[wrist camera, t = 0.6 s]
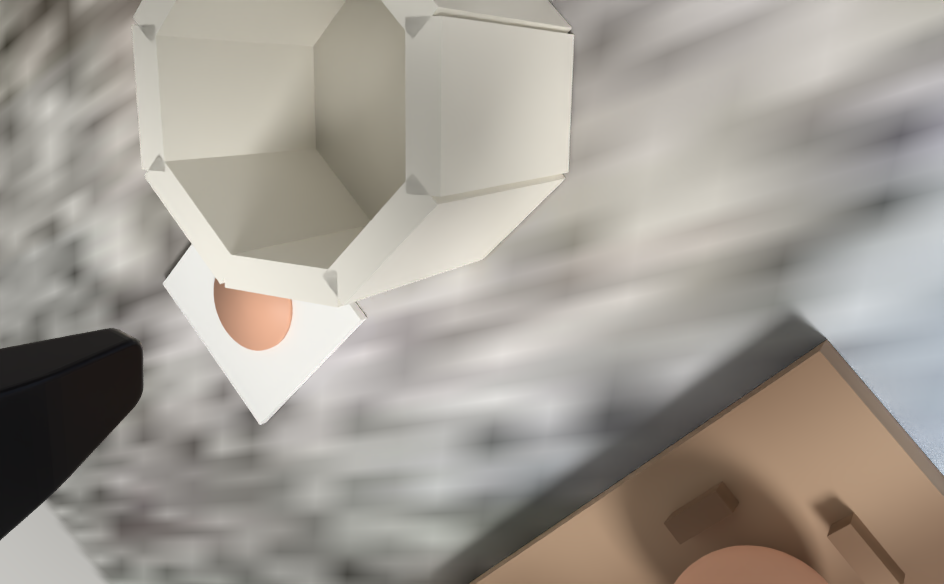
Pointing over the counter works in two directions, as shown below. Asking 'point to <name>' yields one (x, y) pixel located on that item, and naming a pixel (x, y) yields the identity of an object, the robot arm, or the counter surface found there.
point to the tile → (259, 333)
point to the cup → (350, 134)
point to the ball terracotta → (749, 568)
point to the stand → (762, 494)
